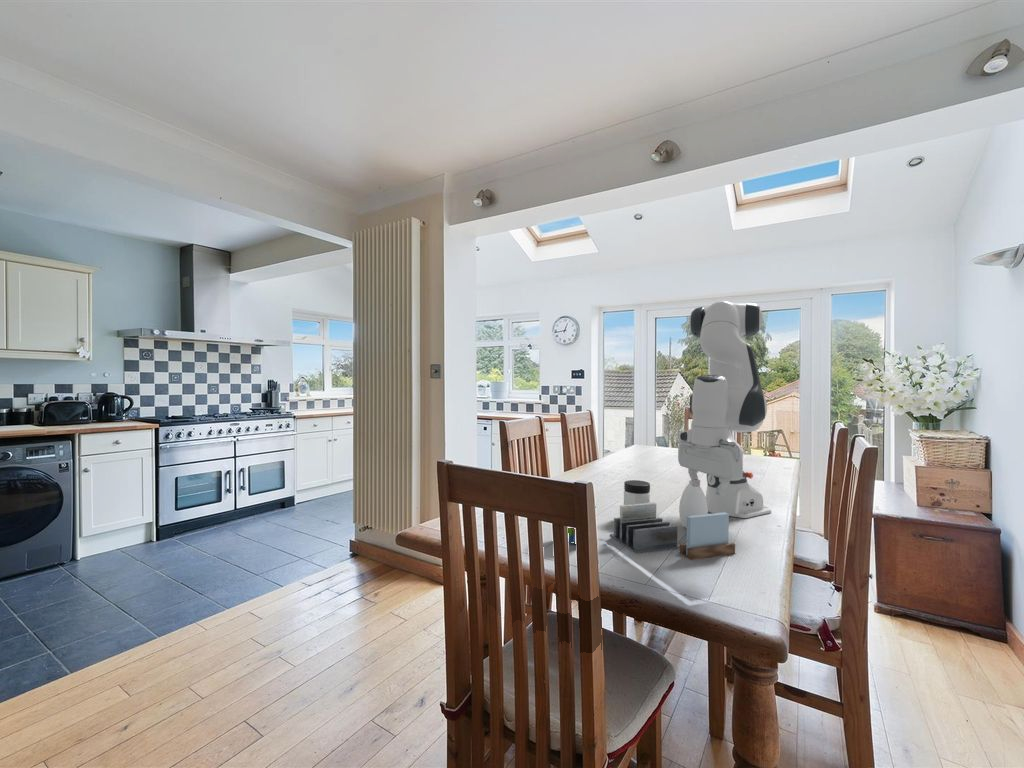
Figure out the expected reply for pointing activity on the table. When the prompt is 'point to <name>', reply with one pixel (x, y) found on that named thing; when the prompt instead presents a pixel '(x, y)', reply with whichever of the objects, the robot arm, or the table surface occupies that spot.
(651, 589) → the table surface
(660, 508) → the table surface
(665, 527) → the dish rack
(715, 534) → the plate
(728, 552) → the plate stand
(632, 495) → the jar
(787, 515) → the table surface
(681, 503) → the sauce bottle
